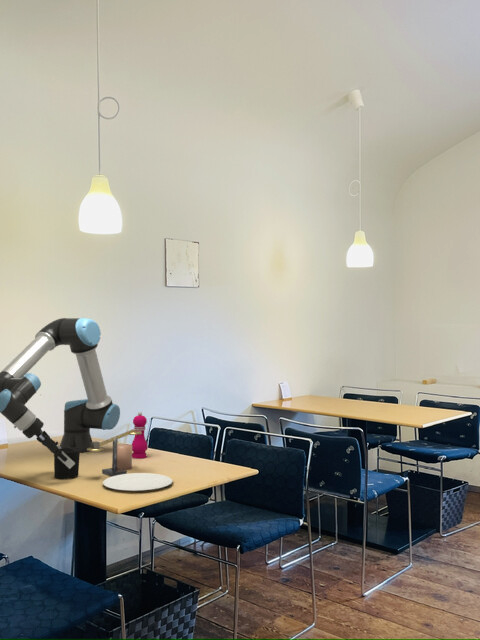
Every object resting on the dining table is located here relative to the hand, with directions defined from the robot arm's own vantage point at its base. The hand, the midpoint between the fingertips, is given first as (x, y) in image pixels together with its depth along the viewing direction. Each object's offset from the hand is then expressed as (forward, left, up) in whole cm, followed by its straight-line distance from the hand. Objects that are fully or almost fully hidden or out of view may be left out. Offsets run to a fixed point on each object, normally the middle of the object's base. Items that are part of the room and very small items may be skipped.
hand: (69, 462), depth 225 cm
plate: (+26, +13, -6) cm, 30 cm away
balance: (+7, +15, -5) cm, 18 cm away
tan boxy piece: (0, +23, -5) cm, 24 cm away
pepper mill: (-13, +40, -6) cm, 42 cm away
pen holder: (-1, -1, -6) cm, 6 cm away
